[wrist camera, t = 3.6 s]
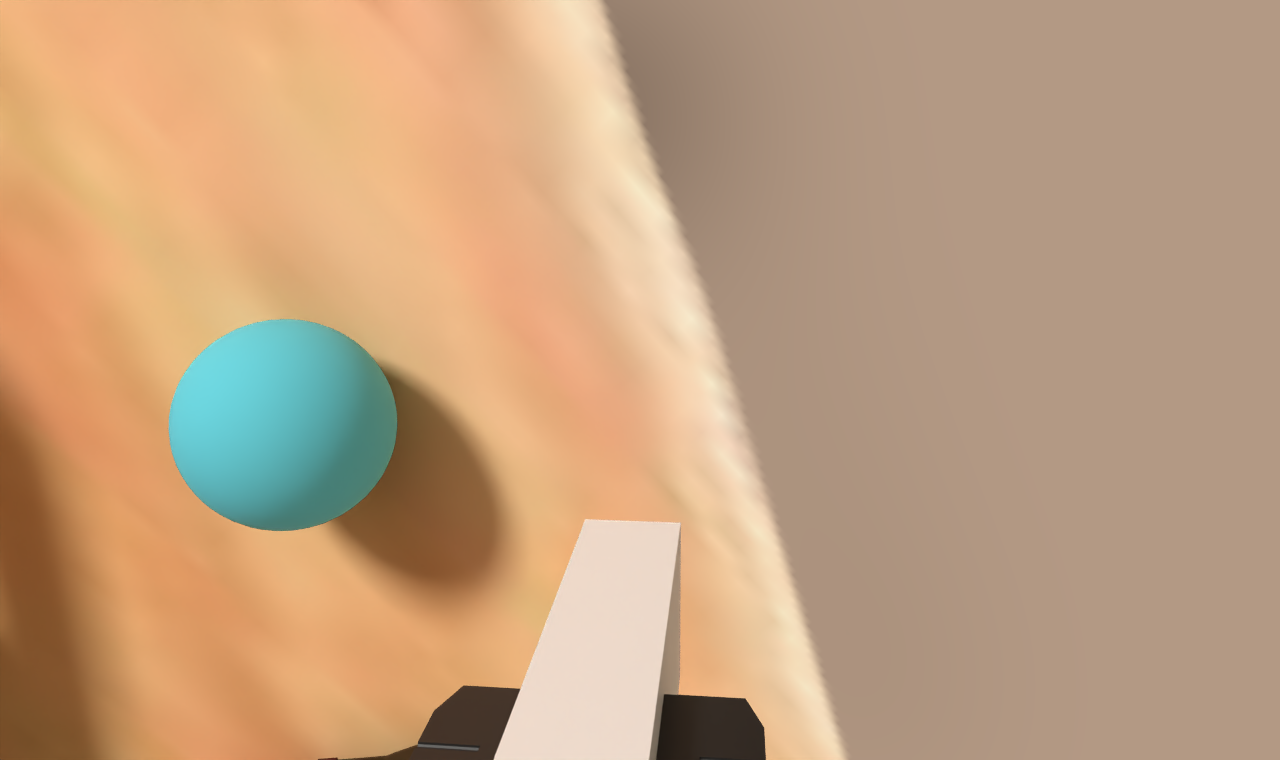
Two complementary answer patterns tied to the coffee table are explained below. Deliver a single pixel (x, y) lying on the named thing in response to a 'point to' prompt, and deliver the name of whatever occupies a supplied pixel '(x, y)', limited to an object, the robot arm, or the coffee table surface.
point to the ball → (282, 425)
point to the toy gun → (395, 759)
